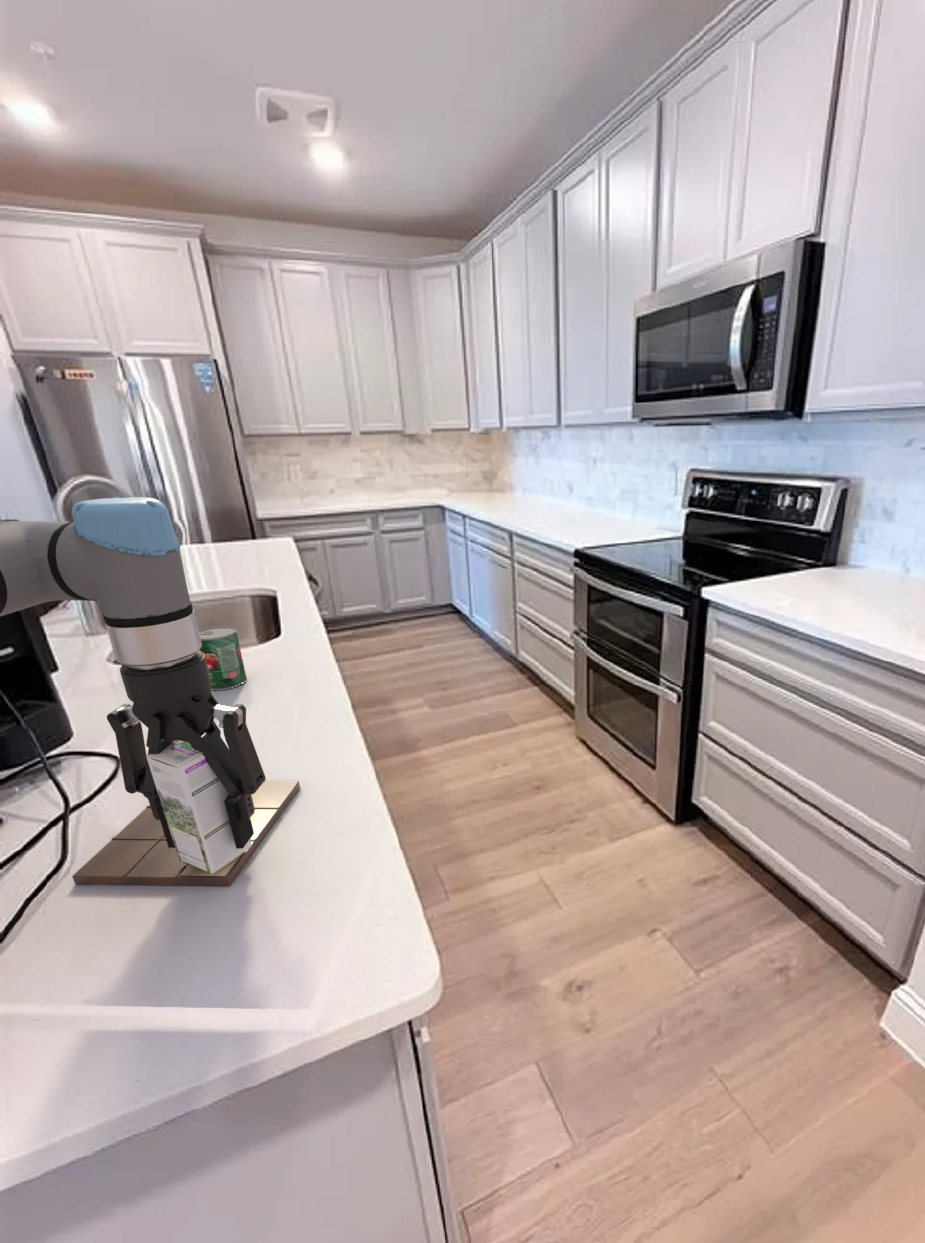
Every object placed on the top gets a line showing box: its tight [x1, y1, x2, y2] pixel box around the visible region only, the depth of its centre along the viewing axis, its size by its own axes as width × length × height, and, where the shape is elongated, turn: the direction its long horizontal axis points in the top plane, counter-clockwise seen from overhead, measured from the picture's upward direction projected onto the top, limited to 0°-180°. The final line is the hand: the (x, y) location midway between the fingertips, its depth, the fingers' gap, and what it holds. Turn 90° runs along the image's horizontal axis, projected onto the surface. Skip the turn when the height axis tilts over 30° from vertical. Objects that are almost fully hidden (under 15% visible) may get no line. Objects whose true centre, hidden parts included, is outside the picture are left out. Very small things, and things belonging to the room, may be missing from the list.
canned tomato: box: [198, 625, 248, 691], centre depth 119 cm, size 8×8×11 cm
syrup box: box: [146, 735, 251, 874], centre depth 67 cm, size 6×6×14 cm
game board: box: [71, 780, 301, 887], centre depth 76 cm, size 18×20×1 cm
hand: (211, 840), depth 69 cm, fingers closed on syrup box, 7 cm apart
